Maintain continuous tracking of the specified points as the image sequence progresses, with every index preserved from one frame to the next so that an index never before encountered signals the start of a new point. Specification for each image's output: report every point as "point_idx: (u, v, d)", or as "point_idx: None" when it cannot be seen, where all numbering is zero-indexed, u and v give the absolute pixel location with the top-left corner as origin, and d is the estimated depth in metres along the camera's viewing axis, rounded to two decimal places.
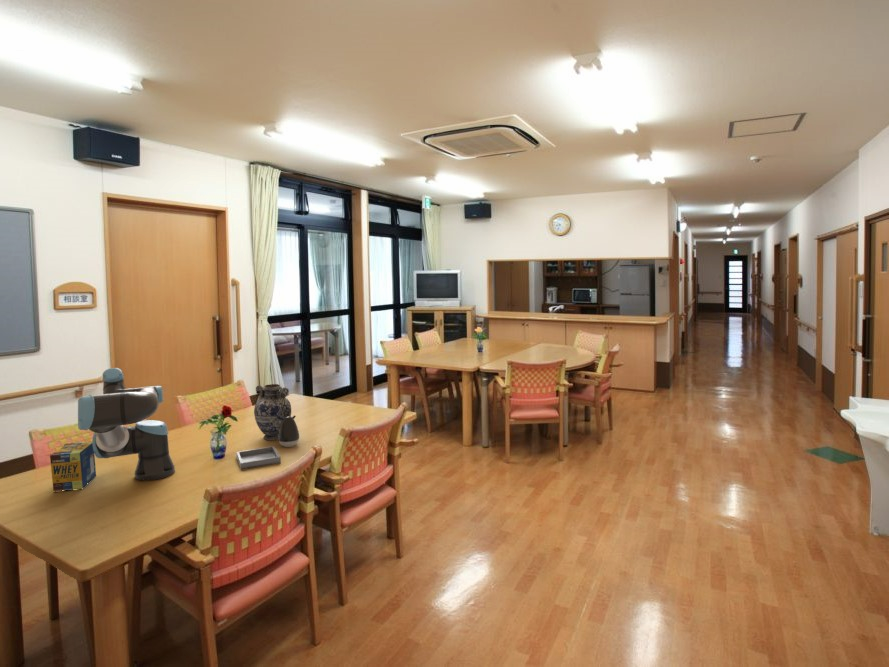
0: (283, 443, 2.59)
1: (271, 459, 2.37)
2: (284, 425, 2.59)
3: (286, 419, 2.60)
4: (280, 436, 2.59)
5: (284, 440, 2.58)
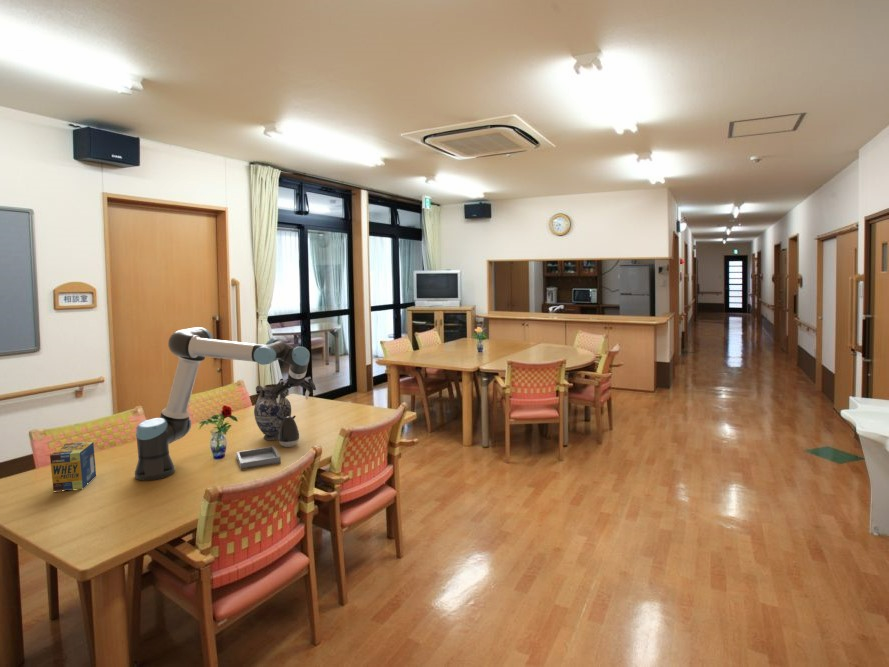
0: (283, 443, 2.59)
1: (271, 459, 2.37)
2: (284, 425, 2.59)
3: (286, 419, 2.60)
4: (280, 436, 2.59)
5: (284, 440, 2.58)
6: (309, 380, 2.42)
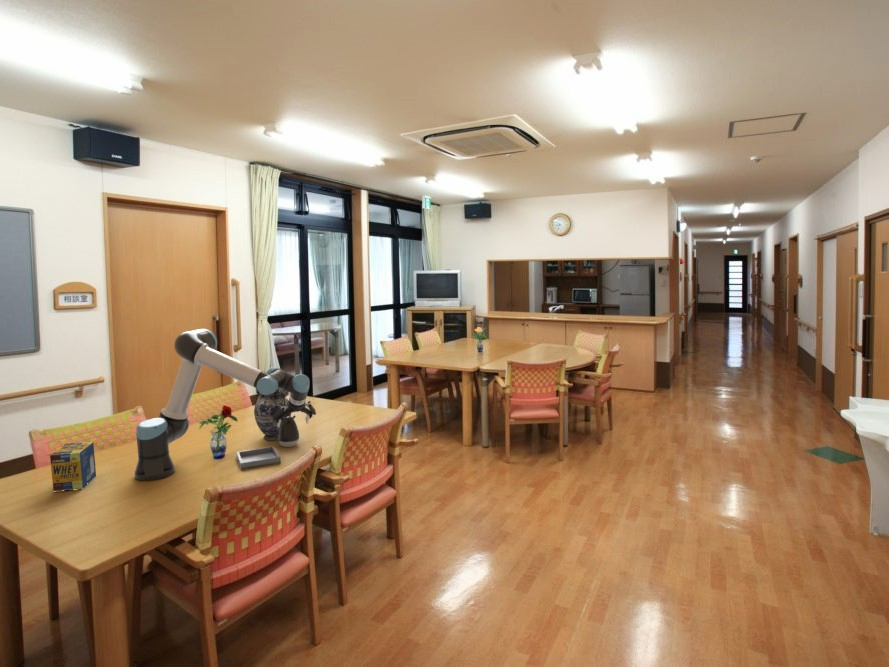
0: (283, 443, 2.59)
1: (271, 459, 2.37)
2: (284, 425, 2.59)
3: (286, 419, 2.60)
4: (280, 436, 2.59)
5: (284, 440, 2.58)
6: (309, 406, 2.47)
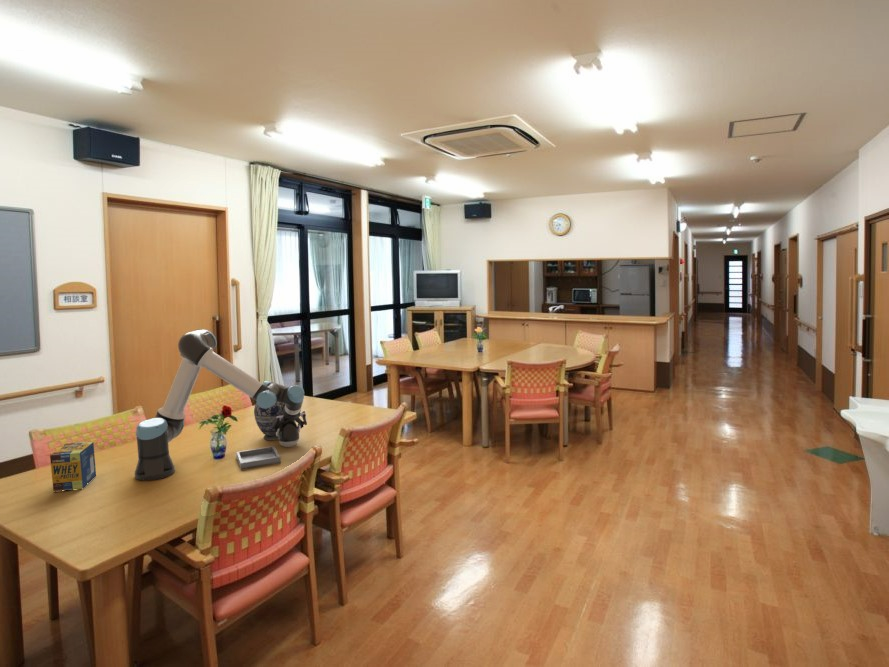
0: (283, 443, 2.59)
1: (271, 459, 2.37)
2: (284, 425, 2.59)
3: None
4: (280, 436, 2.59)
5: (284, 440, 2.58)
6: (304, 415, 2.56)
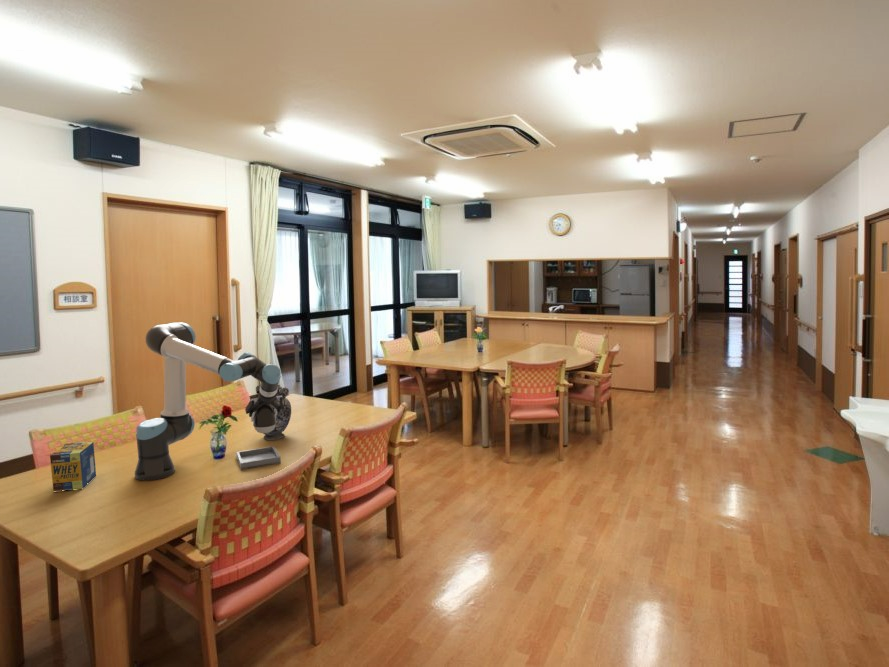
0: (258, 429, 2.41)
1: (271, 459, 2.37)
2: (259, 409, 2.41)
3: None
4: (255, 421, 2.41)
5: (259, 425, 2.40)
6: (281, 398, 2.39)
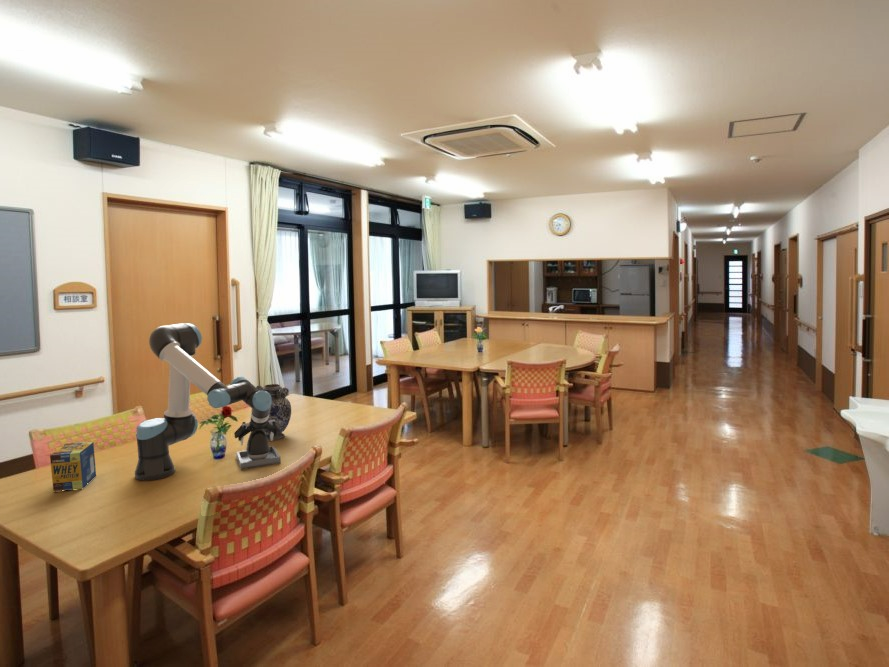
0: (251, 456, 2.38)
1: (271, 459, 2.37)
2: (253, 437, 2.38)
3: (255, 430, 2.39)
4: (248, 448, 2.38)
5: (252, 453, 2.37)
6: (273, 423, 2.35)
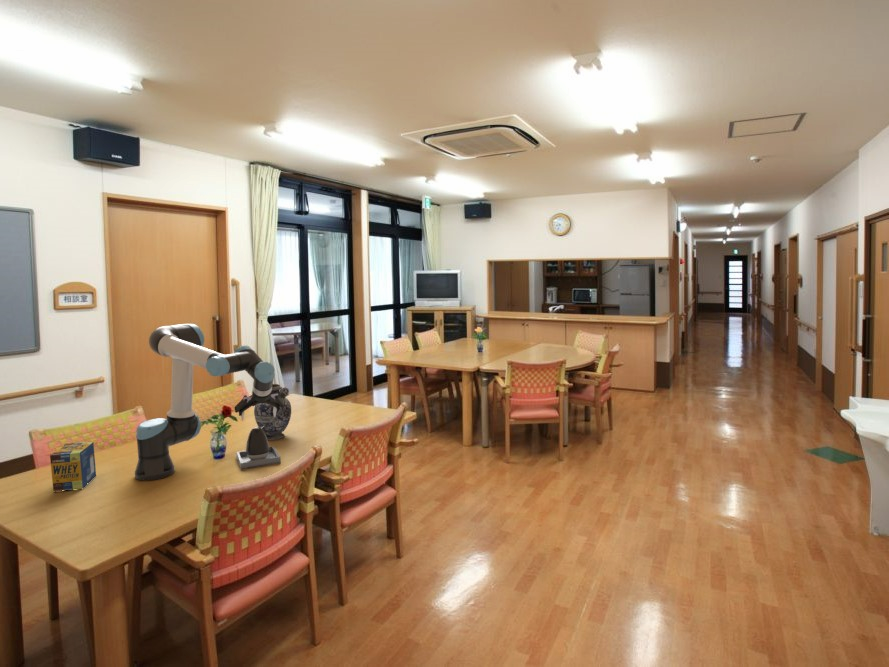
0: (251, 456, 2.38)
1: (271, 459, 2.37)
2: (252, 437, 2.38)
3: (254, 430, 2.39)
4: (247, 448, 2.38)
5: (252, 453, 2.37)
6: (276, 397, 2.24)
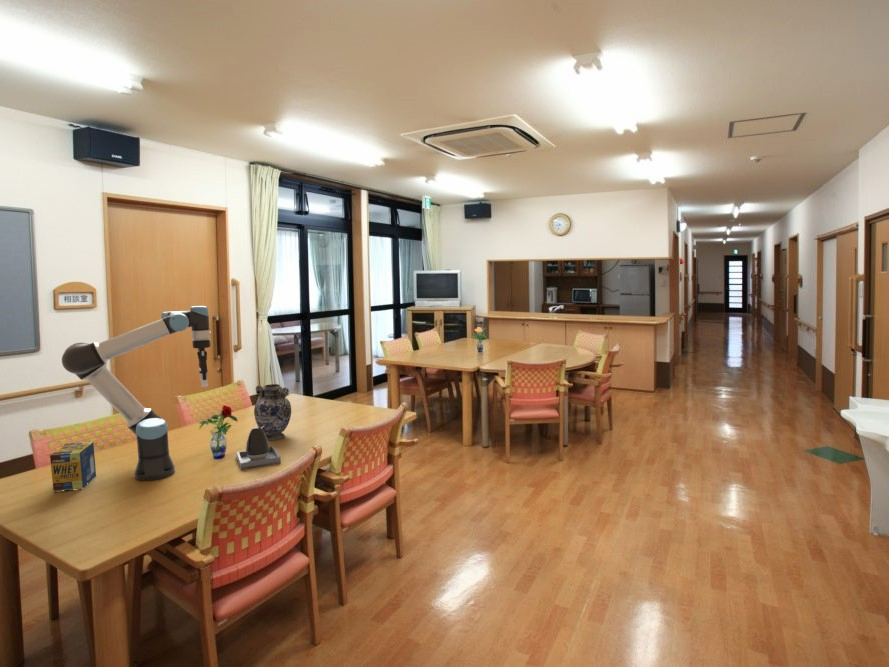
0: (251, 456, 2.38)
1: (271, 459, 2.37)
2: (252, 437, 2.38)
3: (254, 430, 2.39)
4: (247, 448, 2.38)
5: (252, 453, 2.37)
6: None
